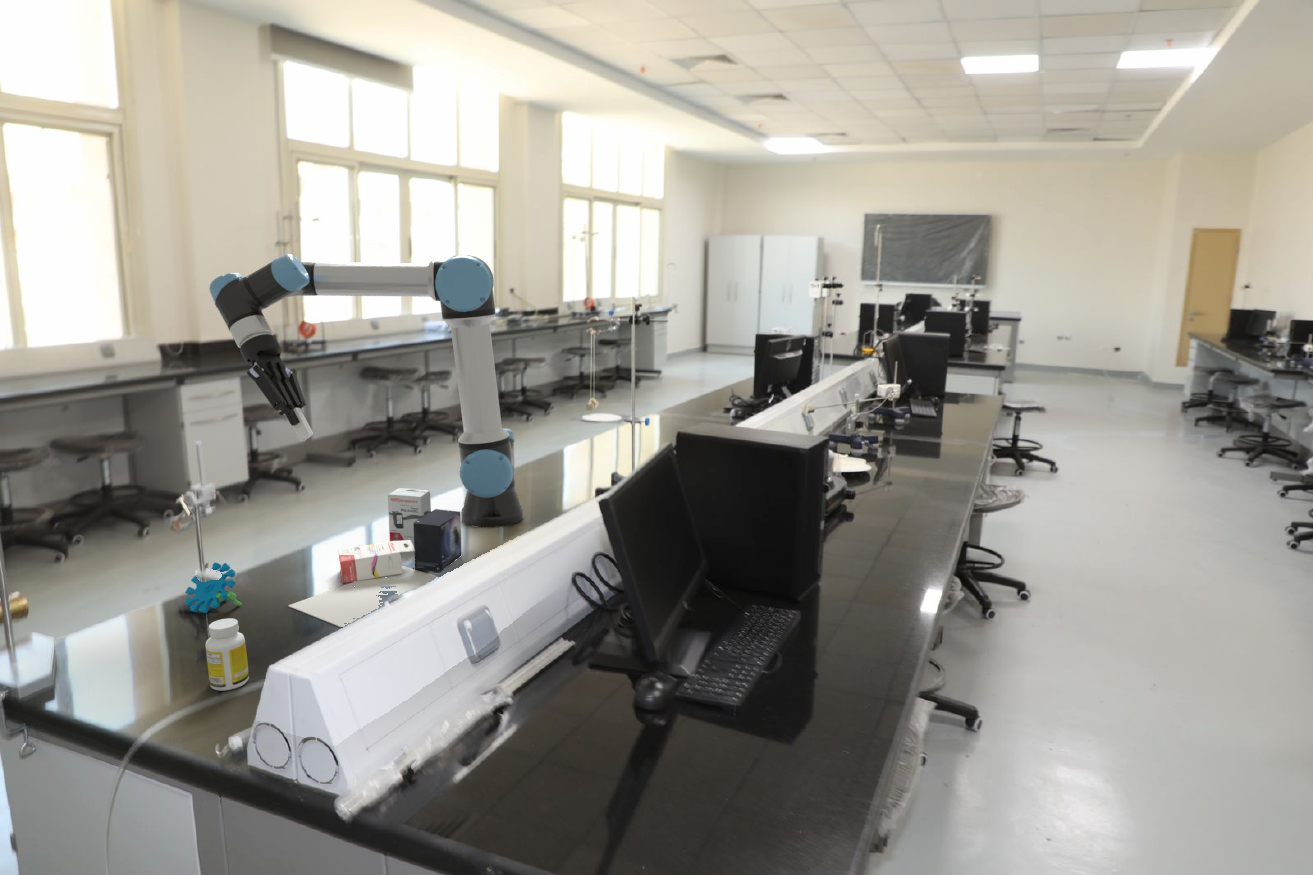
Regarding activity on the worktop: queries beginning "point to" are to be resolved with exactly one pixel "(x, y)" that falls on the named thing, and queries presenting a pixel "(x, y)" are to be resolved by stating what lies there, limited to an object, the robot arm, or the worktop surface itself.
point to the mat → (359, 597)
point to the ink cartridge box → (372, 560)
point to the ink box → (406, 512)
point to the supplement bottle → (226, 655)
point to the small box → (437, 540)
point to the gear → (212, 591)
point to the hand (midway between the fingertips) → (306, 437)
